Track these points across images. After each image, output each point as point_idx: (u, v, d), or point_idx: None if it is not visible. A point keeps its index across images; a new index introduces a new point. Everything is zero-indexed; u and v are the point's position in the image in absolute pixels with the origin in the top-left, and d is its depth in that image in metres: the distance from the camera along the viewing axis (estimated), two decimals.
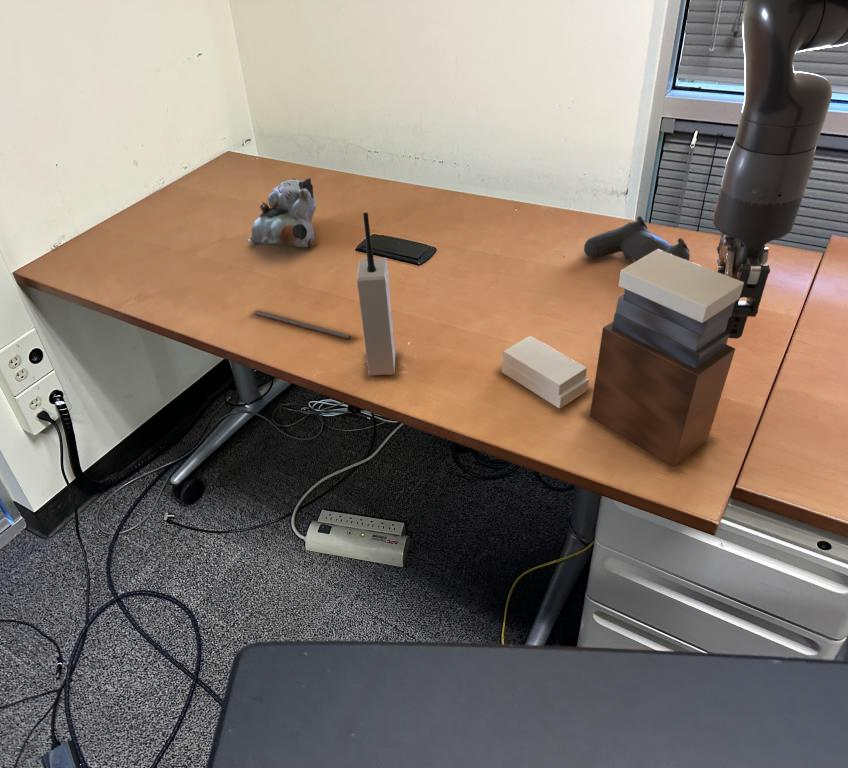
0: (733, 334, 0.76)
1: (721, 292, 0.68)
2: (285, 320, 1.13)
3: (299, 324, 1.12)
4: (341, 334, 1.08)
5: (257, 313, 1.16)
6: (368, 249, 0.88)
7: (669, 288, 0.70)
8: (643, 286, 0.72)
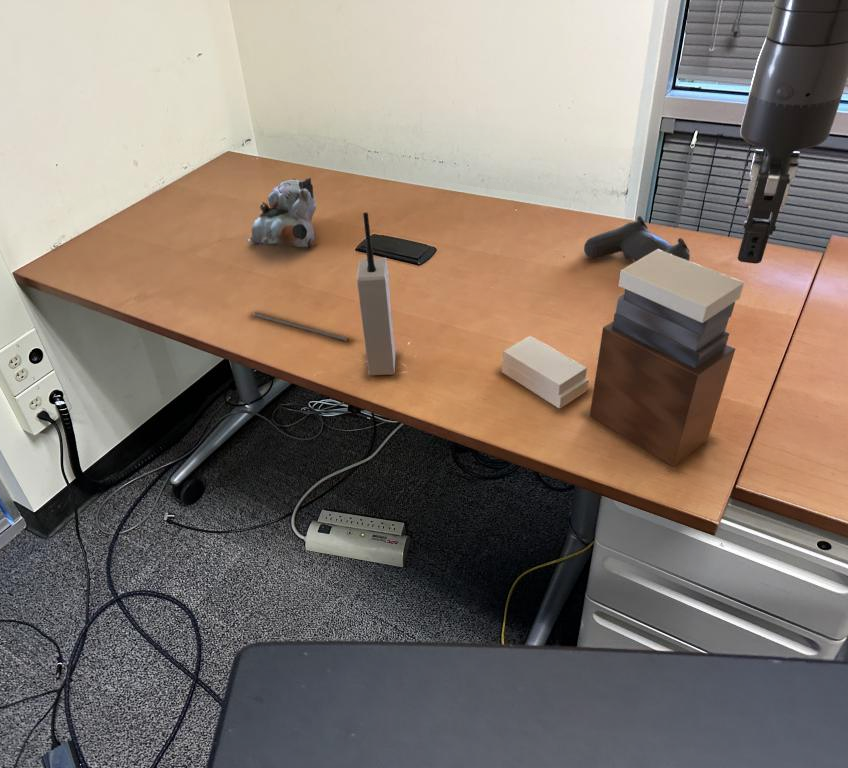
0: (751, 257, 0.70)
1: (721, 292, 0.68)
2: (284, 322, 1.13)
3: (298, 326, 1.12)
4: (339, 337, 1.08)
5: (256, 315, 1.16)
6: (368, 249, 0.88)
7: (669, 288, 0.70)
8: (643, 286, 0.72)
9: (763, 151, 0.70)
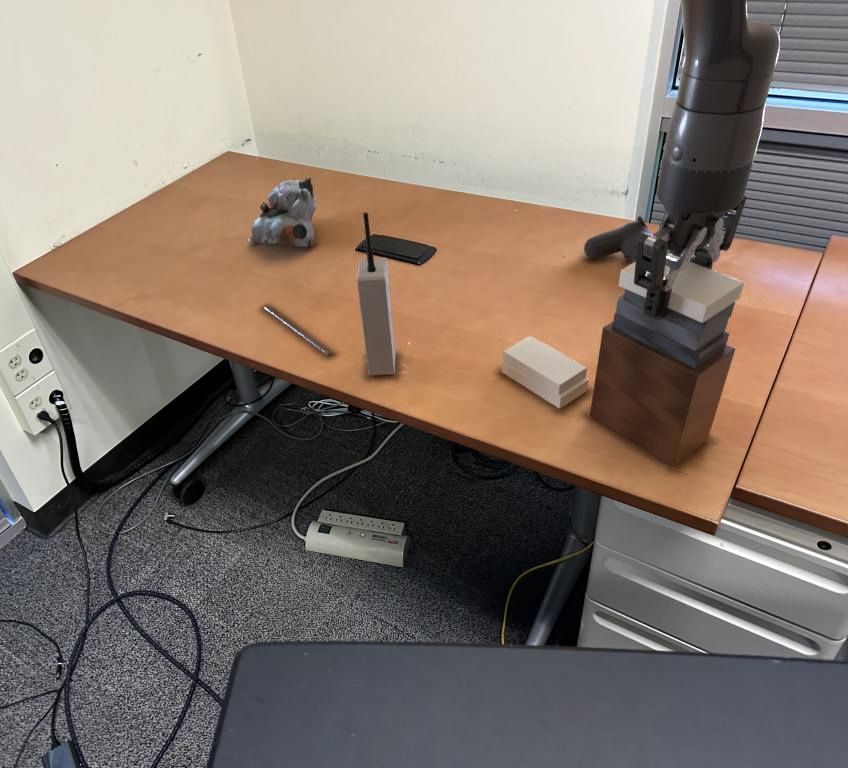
0: (650, 312, 0.71)
1: (721, 292, 0.68)
2: (284, 322, 1.13)
3: (294, 329, 1.11)
4: (323, 349, 1.06)
5: (266, 309, 1.17)
6: (368, 249, 0.88)
7: None
8: None
9: None
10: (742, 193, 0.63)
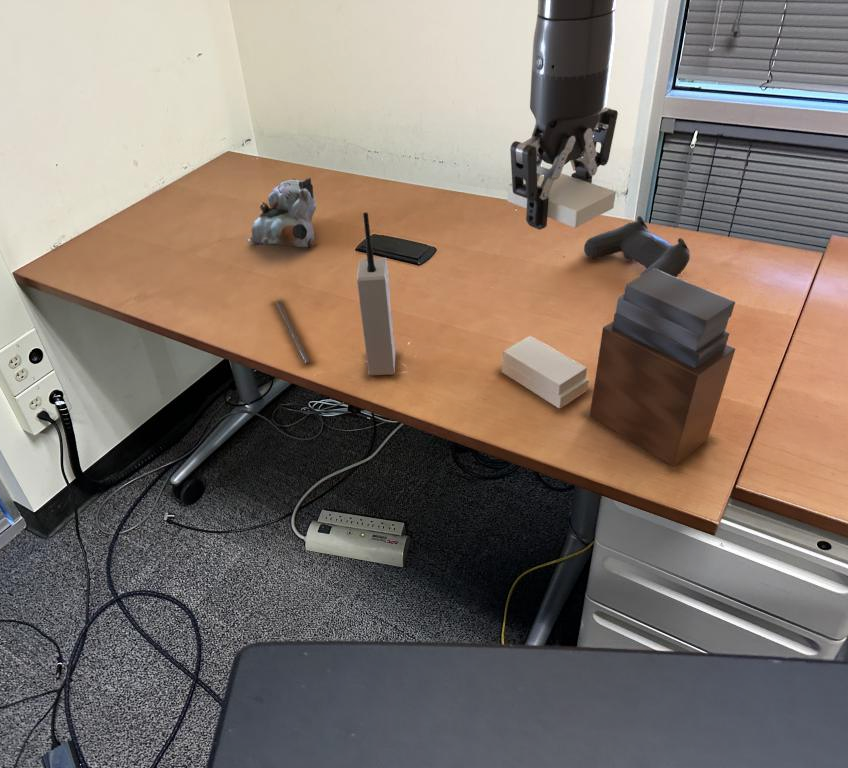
0: (532, 222, 0.76)
1: (593, 199, 0.73)
2: (285, 321, 1.13)
3: (290, 330, 1.11)
4: (304, 357, 1.05)
5: (277, 304, 1.18)
6: (368, 249, 0.88)
7: None
8: (526, 198, 0.77)
9: None
10: (602, 100, 0.68)
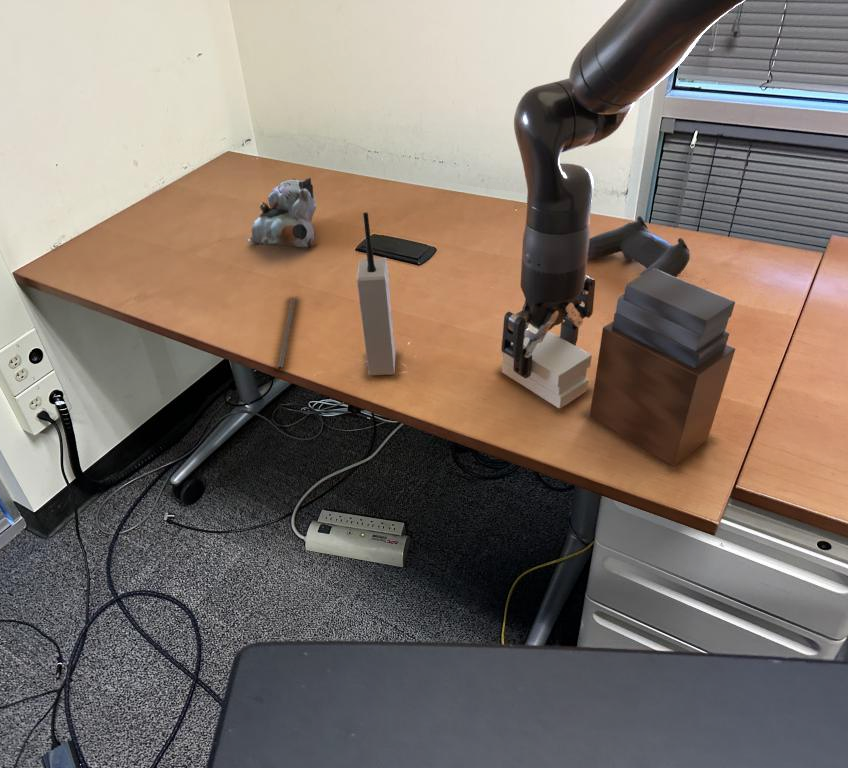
0: (518, 372, 0.89)
1: (573, 363, 0.88)
2: (287, 321, 1.13)
3: (285, 331, 1.11)
4: (280, 361, 1.05)
5: (291, 301, 1.18)
6: (368, 249, 0.88)
7: (534, 359, 0.89)
8: None
9: None
10: (579, 287, 0.82)
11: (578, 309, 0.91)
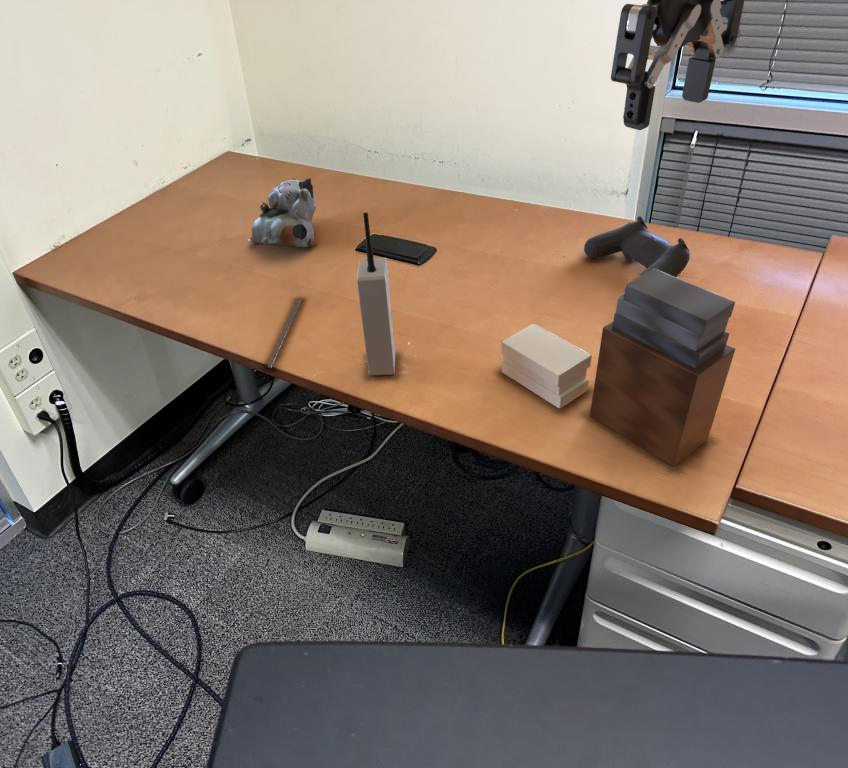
0: (631, 120, 0.61)
1: (573, 363, 0.88)
2: (288, 321, 1.14)
3: None
4: (270, 361, 1.05)
5: (297, 301, 1.18)
6: (368, 249, 0.88)
7: (534, 359, 0.89)
8: (517, 355, 0.91)
9: None
10: None
11: None
